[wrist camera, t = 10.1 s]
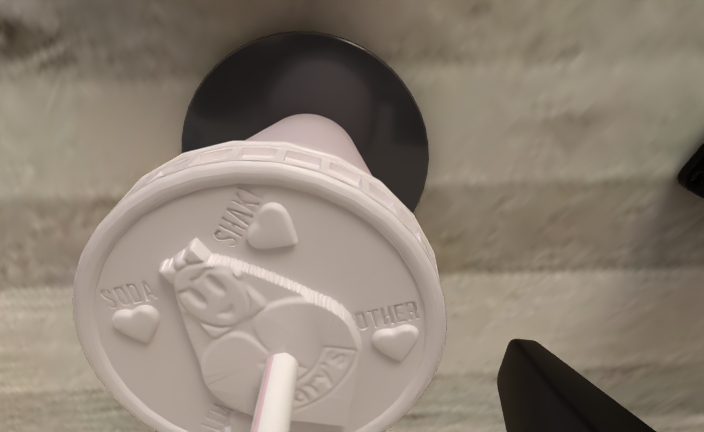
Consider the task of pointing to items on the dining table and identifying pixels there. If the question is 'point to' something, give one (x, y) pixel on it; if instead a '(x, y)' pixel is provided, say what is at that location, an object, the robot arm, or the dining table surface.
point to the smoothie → (262, 290)
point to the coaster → (315, 102)
